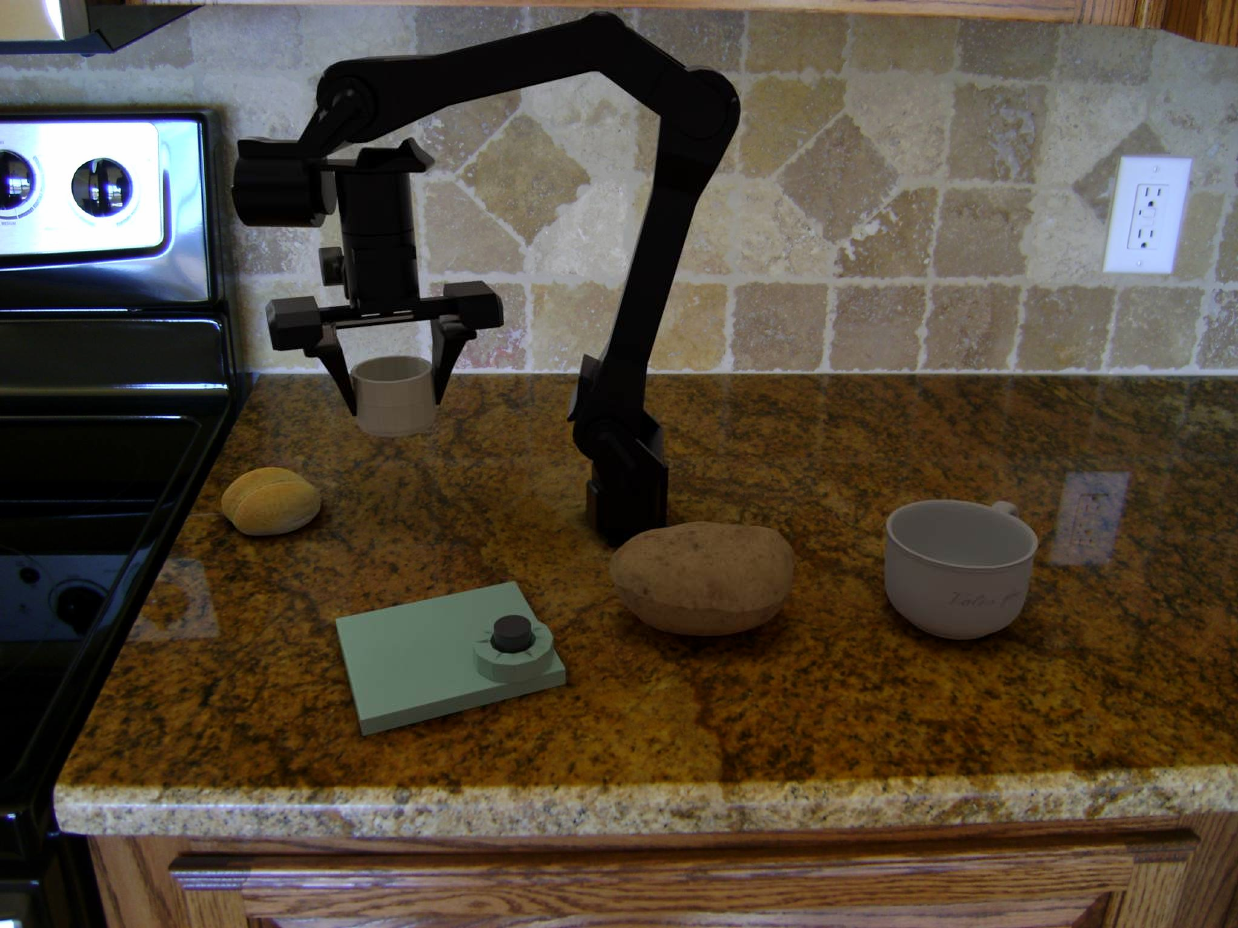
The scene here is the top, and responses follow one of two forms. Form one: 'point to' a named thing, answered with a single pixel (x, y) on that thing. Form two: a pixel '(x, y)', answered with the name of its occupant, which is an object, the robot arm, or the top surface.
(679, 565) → the potato
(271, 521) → the bread roll
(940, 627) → the teacup
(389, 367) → the grey cylindrical container
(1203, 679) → the top surface
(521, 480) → the top surface
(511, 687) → the scale
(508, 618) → the button
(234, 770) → the top surface
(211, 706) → the top surface
